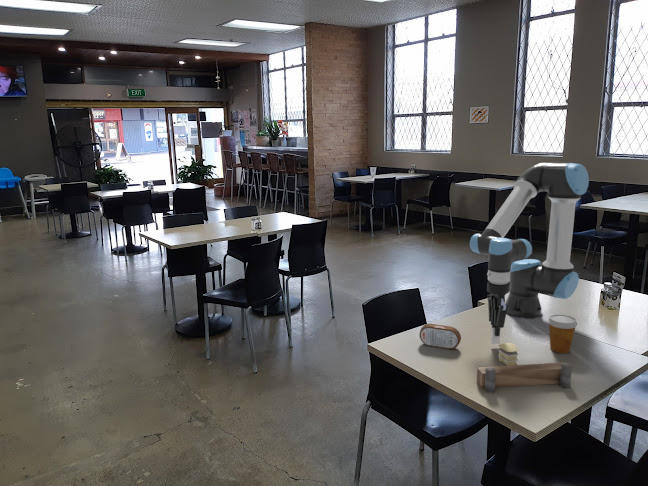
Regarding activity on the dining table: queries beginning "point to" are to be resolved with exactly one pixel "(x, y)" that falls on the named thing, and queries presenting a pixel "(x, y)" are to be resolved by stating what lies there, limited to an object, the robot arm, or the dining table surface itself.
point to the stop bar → (524, 375)
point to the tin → (440, 336)
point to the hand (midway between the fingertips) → (495, 342)
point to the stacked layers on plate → (508, 354)
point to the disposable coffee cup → (561, 332)
